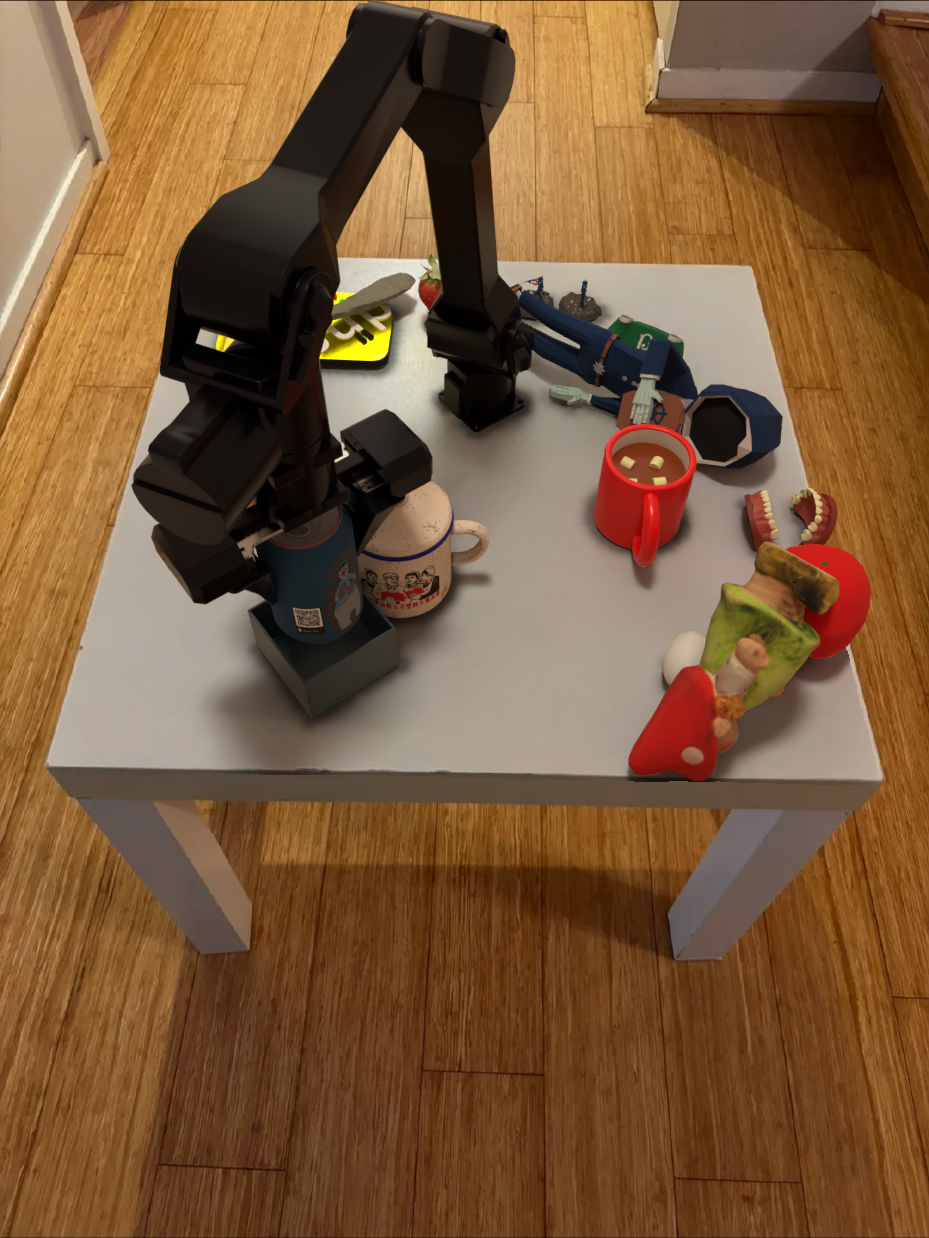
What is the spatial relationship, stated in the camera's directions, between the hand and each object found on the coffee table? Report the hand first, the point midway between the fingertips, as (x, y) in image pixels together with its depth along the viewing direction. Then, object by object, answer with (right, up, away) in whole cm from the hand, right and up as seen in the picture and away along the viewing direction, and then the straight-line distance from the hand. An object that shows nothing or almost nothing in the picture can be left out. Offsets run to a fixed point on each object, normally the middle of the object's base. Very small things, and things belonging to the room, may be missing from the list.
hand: (312, 576), depth 72 cm
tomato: (+39, +2, +4) cm, 39 cm away
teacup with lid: (+7, 0, +14) cm, 15 cm away
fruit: (+9, +29, +33) cm, 45 cm away
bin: (0, -6, +9) cm, 11 cm away
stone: (+2, +29, +29) cm, 41 cm away
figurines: (+21, +31, +35) cm, 51 cm away
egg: (+29, -8, +8) cm, 31 cm away
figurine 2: (+37, +1, -2) cm, 37 cm away
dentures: (+36, +6, +15) cm, 40 cm away
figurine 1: (+15, +28, +25) cm, 41 cm away
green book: (+29, +23, +30) cm, 47 cm away
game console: (-5, +27, +32) cm, 42 cm away
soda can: (0, -3, +4) cm, 5 cm away
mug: (+27, +5, +17) cm, 32 cm away
